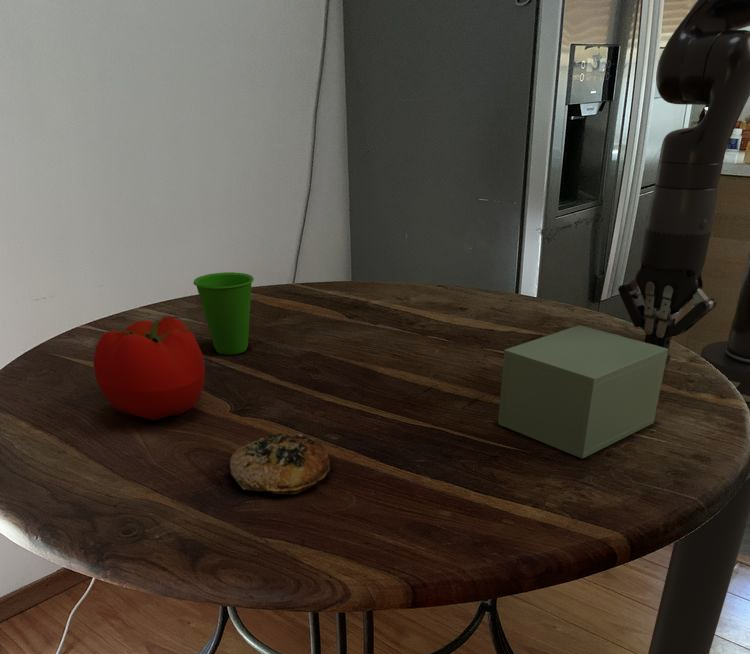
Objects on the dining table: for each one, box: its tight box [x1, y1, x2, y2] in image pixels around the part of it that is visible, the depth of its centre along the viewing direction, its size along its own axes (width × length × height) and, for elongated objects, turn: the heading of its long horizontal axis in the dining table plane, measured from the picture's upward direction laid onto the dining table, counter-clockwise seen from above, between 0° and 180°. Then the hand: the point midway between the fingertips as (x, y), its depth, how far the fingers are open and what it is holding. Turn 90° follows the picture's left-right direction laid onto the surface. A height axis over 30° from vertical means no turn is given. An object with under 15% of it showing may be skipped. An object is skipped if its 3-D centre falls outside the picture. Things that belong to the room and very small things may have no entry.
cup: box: [193, 271, 255, 355], centre depth 114 cm, size 9×9×11 cm
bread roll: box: [229, 433, 331, 496], centre depth 80 cm, size 11×11×5 cm
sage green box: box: [497, 324, 669, 459], centre depth 89 cm, size 15×13×10 cm
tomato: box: [92, 316, 206, 422], centre depth 93 cm, size 13×14×12 cm
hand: (653, 361), depth 98 cm, fingers closed
